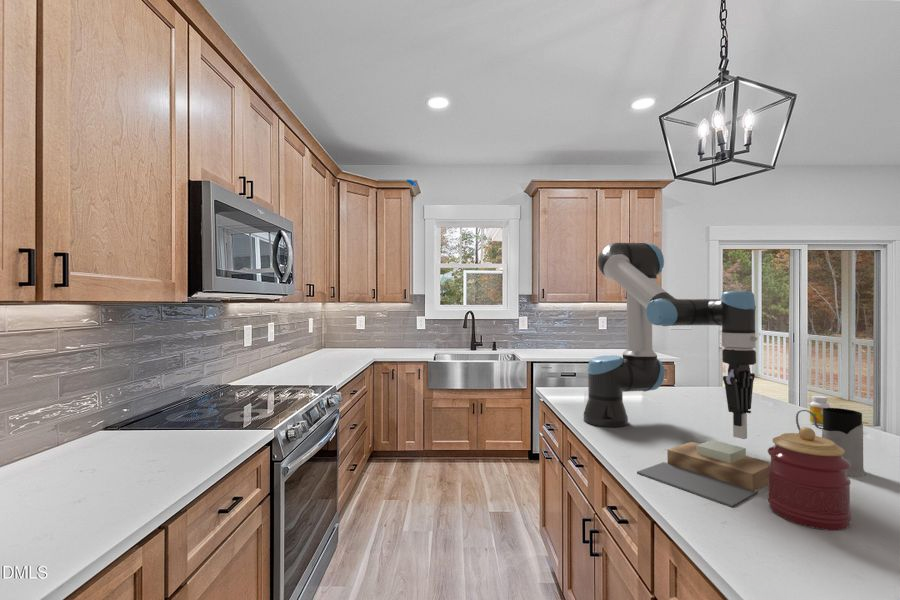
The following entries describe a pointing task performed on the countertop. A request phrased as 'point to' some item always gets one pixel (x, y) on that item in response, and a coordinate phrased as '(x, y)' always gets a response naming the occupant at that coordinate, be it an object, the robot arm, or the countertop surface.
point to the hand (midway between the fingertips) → (740, 437)
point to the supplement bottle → (818, 409)
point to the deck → (721, 467)
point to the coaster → (721, 451)
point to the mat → (699, 484)
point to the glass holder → (844, 435)
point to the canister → (809, 481)
